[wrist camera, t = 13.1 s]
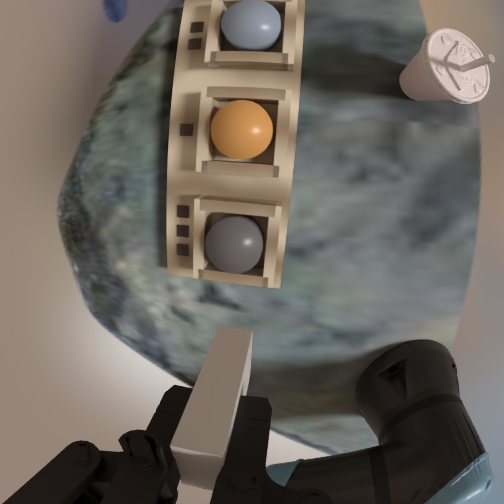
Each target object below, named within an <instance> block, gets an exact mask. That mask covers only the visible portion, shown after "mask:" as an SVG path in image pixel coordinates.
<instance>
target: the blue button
mask: <svg viewBox="0 0 504 504" xmlns="http://www.w3.org/2000/svg"><path fill="white" fill-rule="evenodd" d="M221 28H222V31H223V33H224V35H225V36H226V38H227V40H228V41H229V43H230V44H231V46H232V47H233V48H235V49H236V50H238V51H256V52H267V51H269V50H270V49H272V48H273V47H274V46H275V45H276V44H277V43H278V42H279V40H280V37H281V20H280V15H279V13H278V11H277V10H276V9H275V8H274V7H273V6H272V5H271V4H269V3H267V2H265V1H261V0H244V1H240V2H238V3H236V4H234V5H232V6H231V7H230V8H228V9H227V10H226V12H225V13H224V15H223V17H222V20H221Z"/></svg>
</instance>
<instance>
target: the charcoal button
mask: <svg viewBox="0 0 504 504" xmlns="http://www.w3.org/2000/svg"><path fill="white" fill-rule="evenodd" d="M263 245H264V233H263V230H262V228H261V226H260V225H259V223H258V222H257V221H256V220H255V219H254V218H252V217H251V216H249V215H245V214H235V213H230V214H227V215H225V216H223V217H222V218H221V219H219V220H218V221H217V222H216V224H215V225H214V226H213V227H212V228H211V229H210V230H209V232H208V234H207V236H206V240H205V249H206V253H207V256H208V258H209V259H210V261H211V262H212V263H213V264H214V265H215V266H216V267H217V268H218V269H220V270H222V271H224V272H227V273H233V274H237V273H243V272H246V271H248V270H250V269H251V268H253V267H254V266H255V265H256V264H257V262H258V261H259V259H260V256H261V253H262V249H263Z"/></svg>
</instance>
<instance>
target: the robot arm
mask: <svg viewBox="0 0 504 504" xmlns="http://www.w3.org/2000/svg"><path fill="white" fill-rule="evenodd" d="M252 335H253V330H246V329H237V328H229V327H221V326H219V328H218V330H217V332H216V335H215V337H214V340H213V342H212V345H211V347H210V349H209V352H208V354H207V357H206V359H205V361H204V364H203V366H202V369H201V371H200V374H199V376H198V378H197V381H196V383H195V386H194V388H188V387H183V386H178V385H174V386H172V387H171V388H170V389H169V390H168V391H166V392H165V393H164V395H163V397H162V400H161V401H160V405H158V407H157V409H156V412H155V413H154V415H153V417H152V419H151V421H150V423H149V425H148V427H147V429H146V430H133V431H129V432H127V433H125V434H123V435H122V436H121V437H120V439H119V442H120V445H121V447H122V449H123V452H111V451H100V450H98V448H97V447H96V446H95V445H94V444H92V443H90V442H88V441H81V440H80V441H76V442H73V443H71V444H70V445H68V446H67V447H66V448H65V449H64V450H62V451H61V452H60V453H59V454H58V455H57V456H56V457H55V458H54V459H52V460H51V461H50V462H49V463H48V464H47V465H46V466H45V467H44V468H42V469H41V470H40V471H39V472H38V473H37V474H36V475H35V476H33V477H32V478H31V479H30V480H29V481H28V482H27V483H25V484H24V485H23V486H22V487H21V488H20V489H19V490H18V491H16V492H15V493H14V494H13V495H12V496H11V497H10V498H8V499H7V500H6V501H5V502H4V503H3V504H176V501H177V498H178V491H177V487H178V484H179V481H180V479H181V482H182V484H184V485H189V486H193V487H198V488H202V489H208V490H213V493H212V497H211V501H210V504H478V503H480V502H481V501H482V500H483V499H484V498H485V496H486V495H487V494H488V493H489V492H490V490H491V488H492V486H493V482H494V476H493V472H492V469H491V465H490V462H489V459H488V458H489V455H488V453H487V452H486V451H485V449H484V446H483V444H482V442H481V440H480V437H479V435H478V433H477V431H476V429H475V427H474V425H473V423H472V420H471V418H470V416H469V415H468V412H467V411H466V409H465V407H464V405H463V403H462V400H461V399H460V393H459V384H458V377H457V368H456V364H455V361H454V359H453V357H452V356H451V354H450V352H449V351H448V349H447V348H446V347H445V346H443V345H442V344H440V343H438V342H435V341H430V340H419V341H413V342H409V343H405V344H403V345H400V346H398V347H395V348H393V349H391V350H390V351H388V352H386V353H385V354H383V355H382V356H380V357H379V358H378V359H376V360H375V361H374V362H373V363H372V364H371V365H370V366H369V367H368V368H367V369H366V370H365V372H364V373H363V374H362V376H361V378H360V379H359V382H358V384H357V388H356V399H357V404H358V408H359V411H360V413H361V415H362V416H363V417H364V418H365V420H366V422H367V423H368V425H369V426H370V428H371V429H372V430H373V432H374V433H375V435H376V436H377V437H378V442H379V446H375V447H371V448H366V449H362V450H357V451H353V452H348V453H343V454H338V455H332V456H326V457H320V458H314V459H306V460H304V459H299V460H297V461H294V462H287V463H279V464H273V465H269V466H267V467H266V456H267V448H268V440H269V431H270V423H271V414H272V408H271V405H270V403H269V401H268V398H261V397H252V396H246V393H247V388H248V384H249V379H250V369H251V352H252Z"/></svg>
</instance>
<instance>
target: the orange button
mask: <svg viewBox="0 0 504 504" xmlns="http://www.w3.org/2000/svg"><path fill="white" fill-rule="evenodd" d="M273 134H274V128H273V123H272V121H271V119H270V117H269V115H268V114H267V112H266V111H265V110H264V109H263V108H262V107H261V106H260V105H258V104H256V103H254V102H252V101H248V100H237V101H232V102H230V103H227V104H226V105H224V106H223V107H221V108H220V109H219V110H218V112H217V113H216V114H215V116H214V118H213V120H212V124H211V137H212V140H213V143H214V144H215V146H216V147H217V149H218V150H219V151H220V152H221V153H223V154H224V155H226V156H227V157H230V158H233V159H249V158H253V157H256V156H258V155H260V154H262V153H263V152H264V151H265V150H266V149H267V148H268V147H269V145H270V144H271V142H272V139H273Z"/></svg>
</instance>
